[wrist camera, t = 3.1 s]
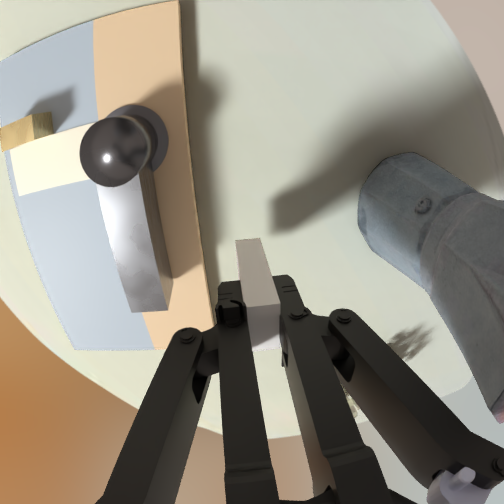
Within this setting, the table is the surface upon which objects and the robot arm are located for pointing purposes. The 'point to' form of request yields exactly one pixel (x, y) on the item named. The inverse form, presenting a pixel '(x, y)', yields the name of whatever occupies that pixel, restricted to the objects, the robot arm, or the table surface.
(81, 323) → the door panel
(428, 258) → the moka pot
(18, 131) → the block
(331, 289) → the table surface
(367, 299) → the table surface
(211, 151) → the table surface
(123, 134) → the latch bar
